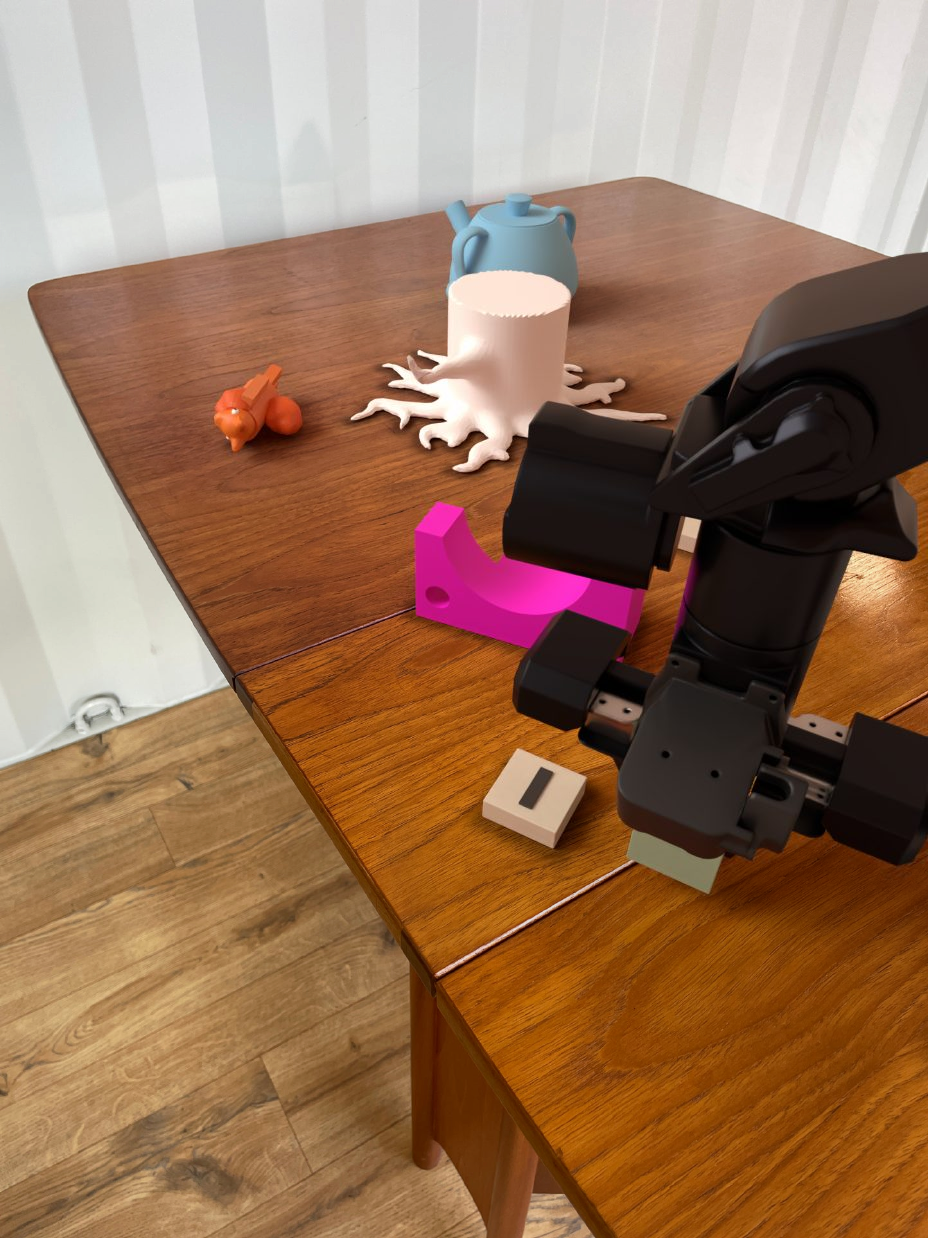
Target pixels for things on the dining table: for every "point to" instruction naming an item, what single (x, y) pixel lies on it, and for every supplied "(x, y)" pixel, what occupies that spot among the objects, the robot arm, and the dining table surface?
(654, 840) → the green letter i block
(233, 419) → the orange toy bird
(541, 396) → the tree stump
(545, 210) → the teapot
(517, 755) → the beige minus sign block
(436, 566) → the magenta cradle bracket
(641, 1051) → the dining table surface
